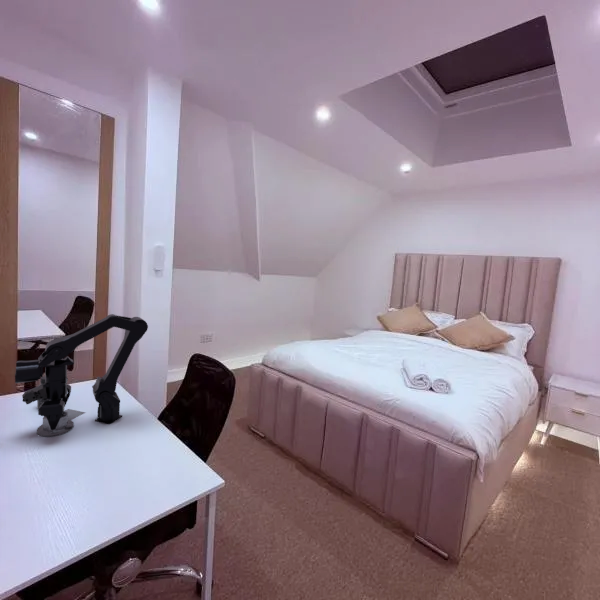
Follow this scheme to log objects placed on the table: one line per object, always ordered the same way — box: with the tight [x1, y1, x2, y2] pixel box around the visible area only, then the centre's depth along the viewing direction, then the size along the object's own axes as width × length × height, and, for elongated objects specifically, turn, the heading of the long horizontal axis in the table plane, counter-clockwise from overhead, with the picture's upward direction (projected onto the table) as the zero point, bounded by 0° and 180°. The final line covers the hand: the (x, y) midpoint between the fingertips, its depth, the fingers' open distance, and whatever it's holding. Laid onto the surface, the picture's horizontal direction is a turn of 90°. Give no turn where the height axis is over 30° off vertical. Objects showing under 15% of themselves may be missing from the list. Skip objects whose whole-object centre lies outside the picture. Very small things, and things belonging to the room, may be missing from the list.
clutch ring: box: [42, 410, 68, 432], centre depth 110 cm, size 6×6×4 cm
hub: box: [36, 420, 75, 438], centre depth 110 cm, size 10×10×4 cm
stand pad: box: [64, 408, 87, 421], centre depth 120 cm, size 8×8×1 cm
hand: (55, 422), depth 110 cm, fingers open, 9 cm apart
